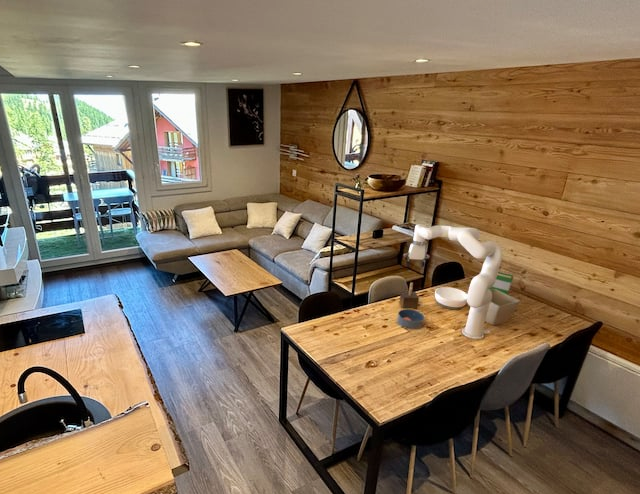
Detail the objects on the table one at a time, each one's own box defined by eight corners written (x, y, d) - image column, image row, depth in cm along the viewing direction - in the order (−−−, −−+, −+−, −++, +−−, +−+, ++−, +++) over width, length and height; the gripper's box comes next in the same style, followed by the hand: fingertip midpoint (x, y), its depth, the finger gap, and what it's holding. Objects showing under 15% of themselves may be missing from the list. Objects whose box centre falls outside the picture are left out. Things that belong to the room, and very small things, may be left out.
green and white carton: (476, 302, 284) (483, 272, 275) (478, 298, 290) (485, 269, 280) (503, 309, 275) (511, 278, 265) (505, 306, 280) (513, 275, 271)
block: (406, 322, 255) (406, 317, 253) (410, 325, 251) (411, 319, 250) (401, 323, 253) (402, 318, 252) (405, 326, 250) (406, 321, 248)
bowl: (446, 294, 295) (448, 284, 292) (473, 307, 278) (475, 296, 274) (426, 301, 284) (428, 290, 281) (453, 314, 267) (455, 303, 264)
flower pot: (493, 329, 250) (500, 306, 243) (469, 315, 266) (474, 293, 259) (514, 323, 257) (520, 300, 251) (489, 310, 273) (494, 288, 267)
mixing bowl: (419, 317, 262) (420, 309, 260) (425, 330, 247) (427, 322, 245) (394, 316, 263) (395, 308, 260) (399, 329, 248) (401, 321, 246)
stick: (408, 305, 278) (412, 282, 271) (409, 306, 276) (413, 283, 269) (406, 305, 278) (410, 282, 271) (406, 306, 276) (410, 283, 269)
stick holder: (413, 302, 281) (415, 291, 278) (416, 309, 272) (418, 298, 269) (399, 302, 282) (401, 291, 279) (402, 308, 273) (404, 297, 269)
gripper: (430, 241, 262) (425, 265, 268) (404, 240, 263) (400, 264, 269) (433, 245, 255) (429, 269, 261) (406, 244, 256) (402, 268, 262)
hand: (414, 266), depth 265 cm, fingers open, 9 cm apart
